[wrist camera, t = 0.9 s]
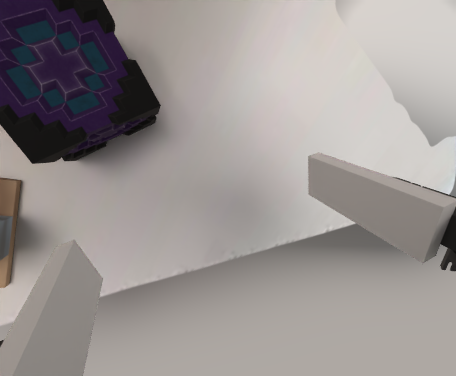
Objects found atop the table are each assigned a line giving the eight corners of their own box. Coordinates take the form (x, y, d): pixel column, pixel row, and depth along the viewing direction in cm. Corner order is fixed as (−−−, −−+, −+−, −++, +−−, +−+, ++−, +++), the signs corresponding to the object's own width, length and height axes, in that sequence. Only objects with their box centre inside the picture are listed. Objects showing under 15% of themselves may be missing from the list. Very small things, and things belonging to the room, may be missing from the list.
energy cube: (106, 38, 28) (82, -38, 17) (155, 123, 31) (160, 105, 20) (9, 71, 25) (-99, 4, 14) (75, 160, 28) (32, 163, 17)
